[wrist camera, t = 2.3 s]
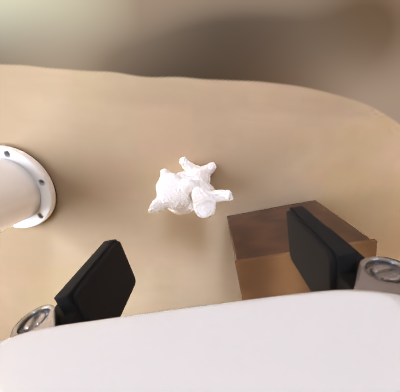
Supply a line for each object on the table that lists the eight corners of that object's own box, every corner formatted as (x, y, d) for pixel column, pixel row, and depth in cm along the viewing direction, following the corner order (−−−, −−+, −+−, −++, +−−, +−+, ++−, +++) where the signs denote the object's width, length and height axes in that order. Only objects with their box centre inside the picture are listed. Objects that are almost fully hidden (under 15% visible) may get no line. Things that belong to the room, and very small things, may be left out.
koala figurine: (220, 148, 27) (229, 165, 15) (227, 194, 29) (239, 238, 18) (160, 159, 28) (128, 182, 16) (171, 203, 30) (149, 250, 18)
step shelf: (245, 319, 37) (260, 393, 27) (225, 215, 30) (235, 262, 20) (319, 309, 36) (364, 384, 26) (316, 199, 29) (377, 240, 18)
